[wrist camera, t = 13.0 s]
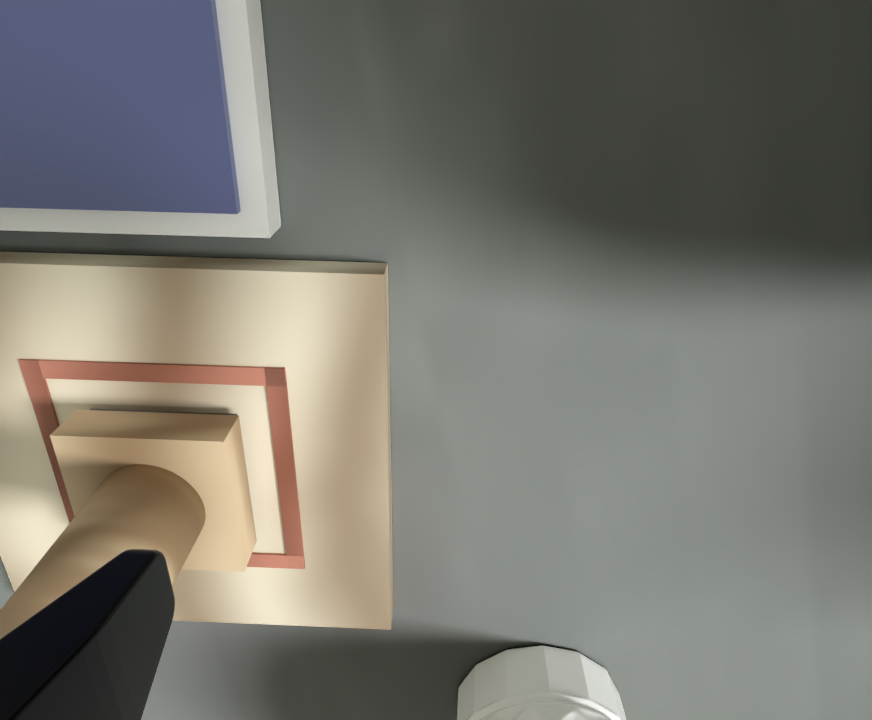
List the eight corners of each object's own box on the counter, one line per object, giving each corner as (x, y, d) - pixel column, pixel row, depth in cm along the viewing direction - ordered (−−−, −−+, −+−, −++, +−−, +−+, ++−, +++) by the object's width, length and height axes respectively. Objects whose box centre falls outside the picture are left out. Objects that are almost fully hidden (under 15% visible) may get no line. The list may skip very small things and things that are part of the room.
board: (387, 262, 18) (383, 275, 18) (393, 608, 25) (390, 631, 24) (-89, 248, 19) (-118, 260, 18) (38, 593, 25) (21, 616, 24)
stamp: (243, 408, 20) (146, 575, 14) (260, 532, 22) (184, 722, 16) (83, 402, 20) (-83, 565, 14) (116, 526, 22) (-13, 712, 16)
